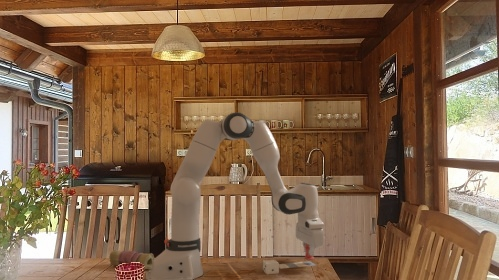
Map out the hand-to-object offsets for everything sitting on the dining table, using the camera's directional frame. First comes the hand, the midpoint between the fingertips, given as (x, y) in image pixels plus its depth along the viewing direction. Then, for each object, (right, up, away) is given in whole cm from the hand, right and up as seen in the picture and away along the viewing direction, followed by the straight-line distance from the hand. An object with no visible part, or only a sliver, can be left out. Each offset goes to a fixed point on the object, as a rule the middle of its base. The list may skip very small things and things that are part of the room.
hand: (308, 253), depth 163 cm
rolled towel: (-75, -6, +1) cm, 75 cm away
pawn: (0, -2, 0) cm, 2 cm away
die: (-17, -3, -8) cm, 20 cm away
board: (-6, -5, -2) cm, 8 cm away
